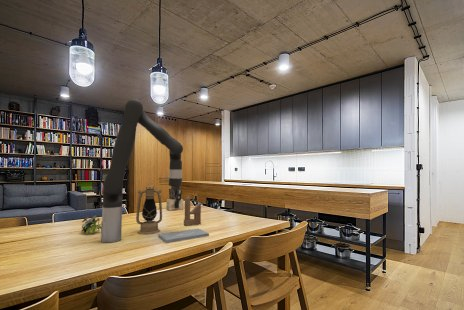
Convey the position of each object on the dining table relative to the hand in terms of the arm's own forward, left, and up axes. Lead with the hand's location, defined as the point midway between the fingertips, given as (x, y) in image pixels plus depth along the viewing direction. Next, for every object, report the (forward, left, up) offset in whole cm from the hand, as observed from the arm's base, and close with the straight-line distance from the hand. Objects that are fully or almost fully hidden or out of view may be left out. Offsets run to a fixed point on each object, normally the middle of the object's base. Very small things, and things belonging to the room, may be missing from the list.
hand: (174, 207), depth 139 cm
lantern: (-10, +13, -15) cm, 23 cm away
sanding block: (0, 0, -1) cm, 1 cm away
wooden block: (+19, +16, -15) cm, 29 cm away
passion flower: (-38, +30, -15) cm, 51 cm away
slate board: (+3, -8, -15) cm, 17 cm away
